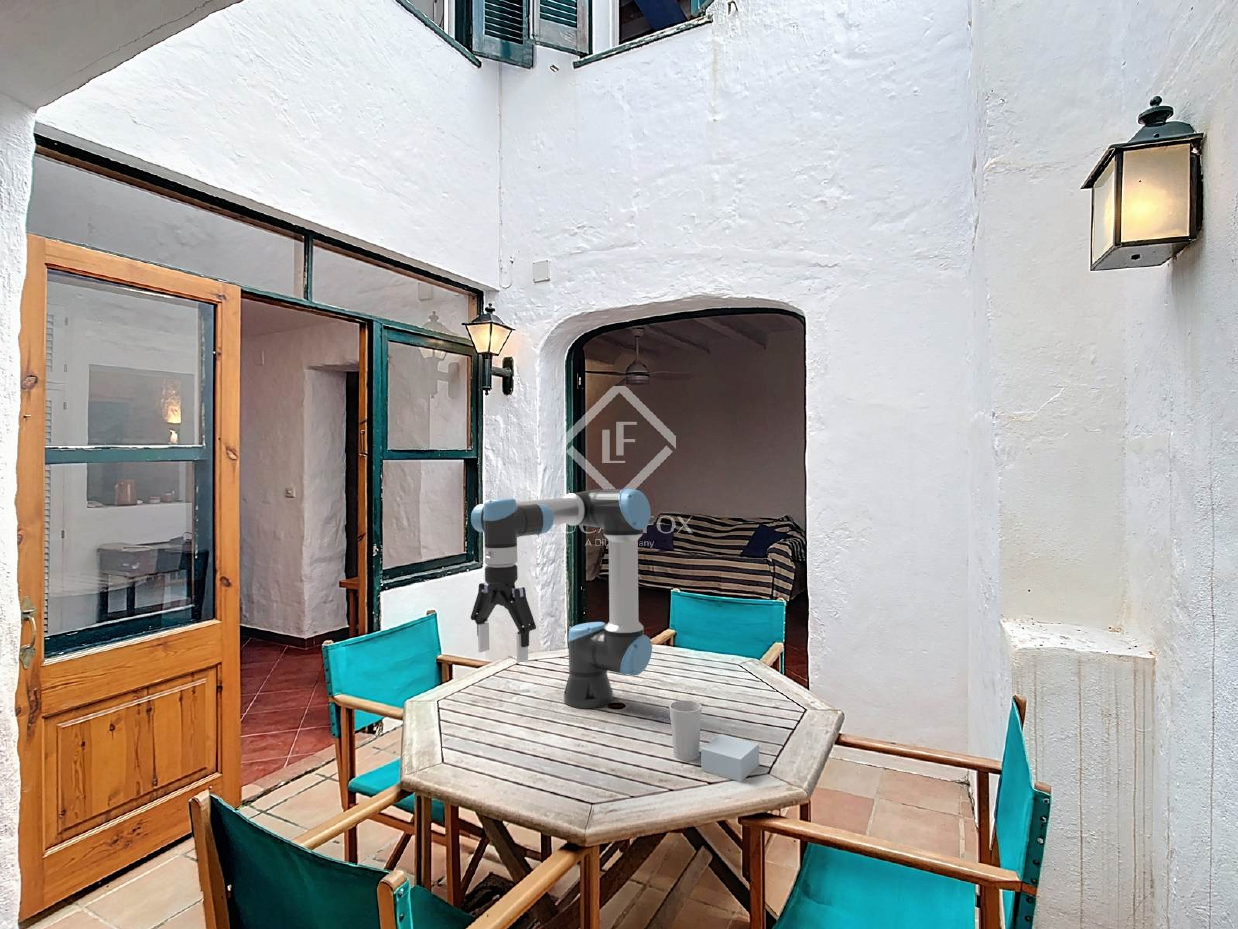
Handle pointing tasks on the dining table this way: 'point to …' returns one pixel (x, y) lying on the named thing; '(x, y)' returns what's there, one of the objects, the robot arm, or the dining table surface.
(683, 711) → the cup
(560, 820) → the dining table surface
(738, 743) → the pedestal block
